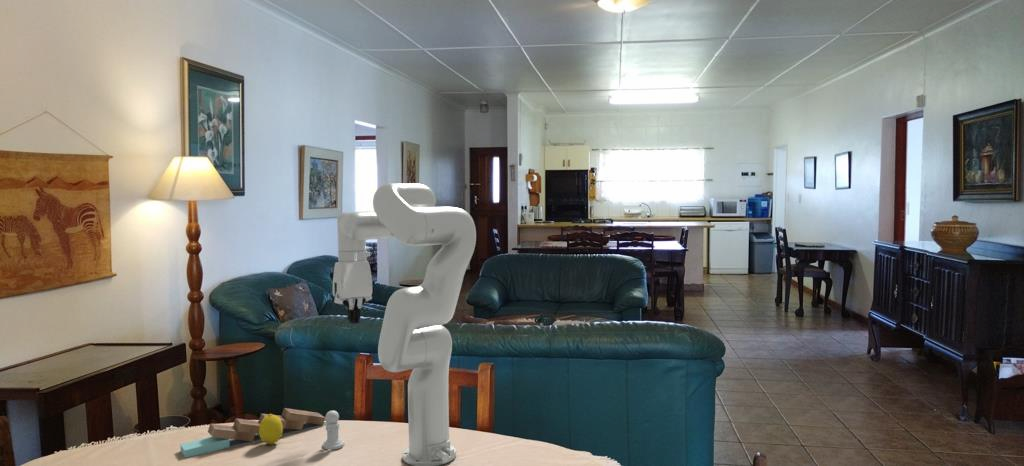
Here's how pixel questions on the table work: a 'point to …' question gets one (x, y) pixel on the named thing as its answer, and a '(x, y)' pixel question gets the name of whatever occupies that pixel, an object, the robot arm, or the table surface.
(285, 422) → the domino
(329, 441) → the chess piece
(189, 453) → the domino end
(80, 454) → the table surface
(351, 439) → the table surface
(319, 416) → the domino
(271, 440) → the lemon
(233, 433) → the domino
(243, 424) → the domino
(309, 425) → the grey flat board
